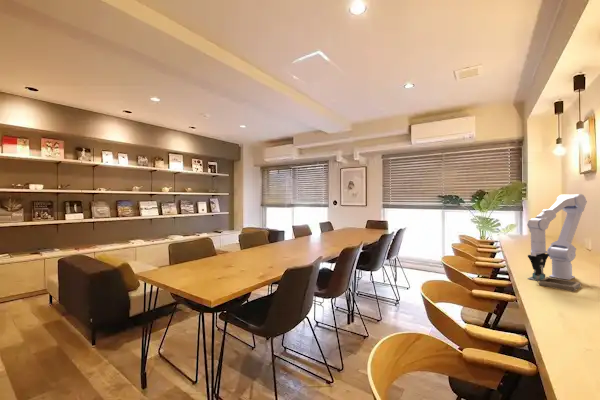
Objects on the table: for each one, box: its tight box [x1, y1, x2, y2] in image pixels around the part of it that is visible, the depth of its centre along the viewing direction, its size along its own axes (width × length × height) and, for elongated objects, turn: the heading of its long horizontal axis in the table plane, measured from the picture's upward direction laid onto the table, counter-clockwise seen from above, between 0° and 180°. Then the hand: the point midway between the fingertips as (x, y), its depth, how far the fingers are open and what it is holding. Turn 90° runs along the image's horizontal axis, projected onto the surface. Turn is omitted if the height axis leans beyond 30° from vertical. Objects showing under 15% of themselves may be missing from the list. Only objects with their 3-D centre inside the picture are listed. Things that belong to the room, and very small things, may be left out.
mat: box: [527, 276, 540, 282], centre depth 143 cm, size 8×7×1 cm
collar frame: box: [538, 276, 582, 292], centre depth 132 cm, size 11×12×2 cm
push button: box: [531, 259, 546, 280], centre depth 143 cm, size 7×5×10 cm
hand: (538, 268), depth 143 cm, fingers open, 7 cm apart
